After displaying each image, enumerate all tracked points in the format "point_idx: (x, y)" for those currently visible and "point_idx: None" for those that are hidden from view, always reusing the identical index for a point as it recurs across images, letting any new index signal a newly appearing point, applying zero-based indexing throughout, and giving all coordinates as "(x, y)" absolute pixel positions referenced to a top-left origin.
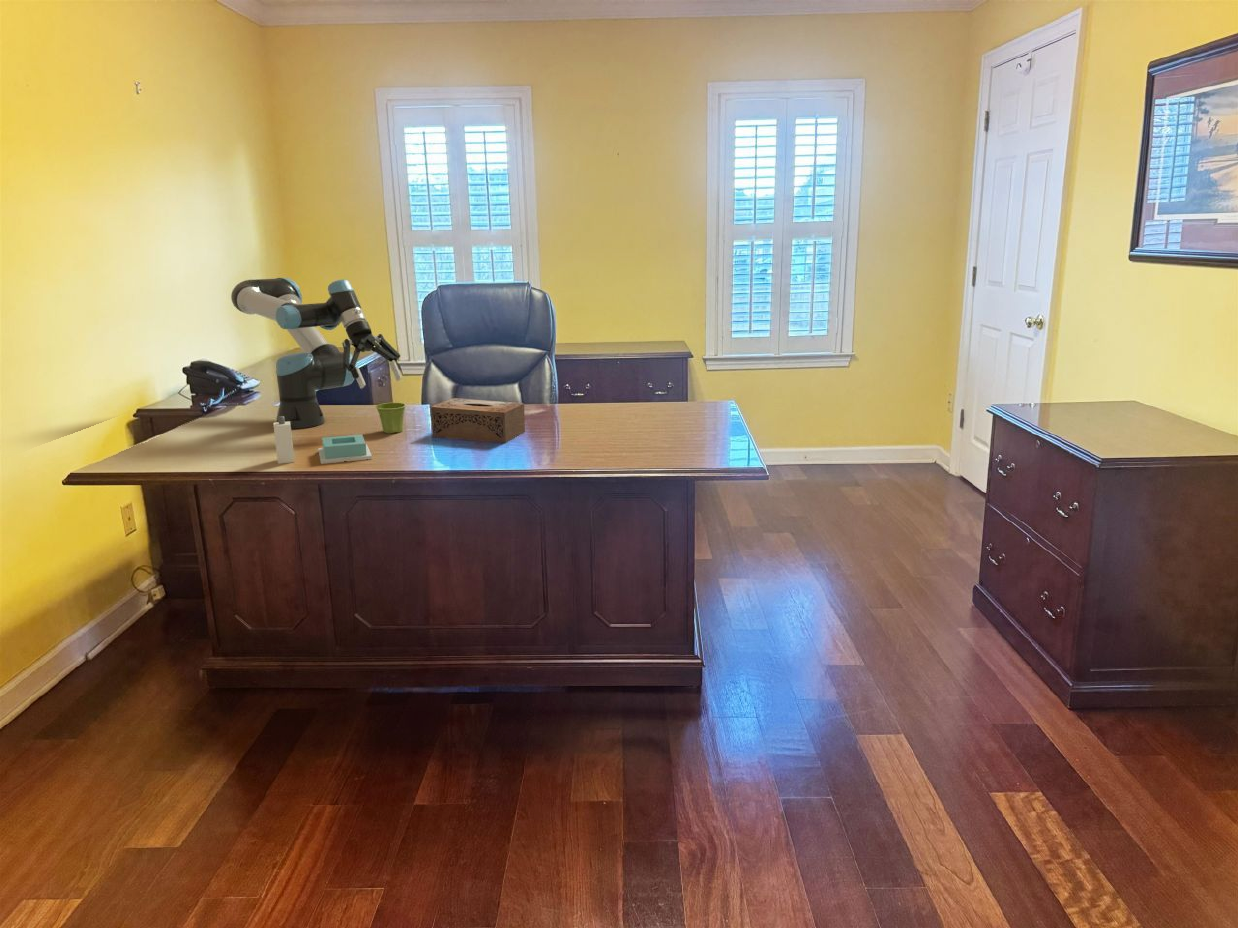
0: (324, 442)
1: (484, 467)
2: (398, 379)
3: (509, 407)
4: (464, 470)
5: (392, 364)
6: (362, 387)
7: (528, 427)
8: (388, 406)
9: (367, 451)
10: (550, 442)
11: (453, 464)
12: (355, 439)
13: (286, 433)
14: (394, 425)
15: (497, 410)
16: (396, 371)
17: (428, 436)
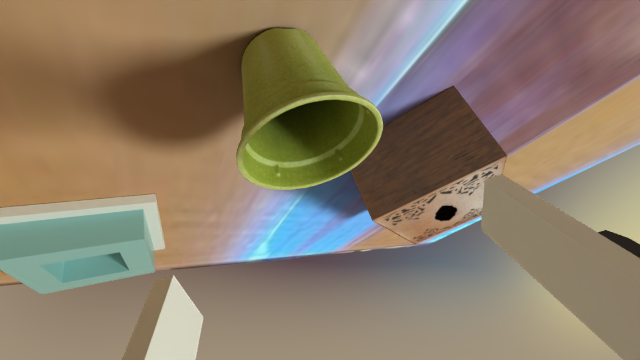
0: (25, 280)
1: (301, 252)
2: (485, 205)
3: (451, 226)
4: (278, 258)
5: (620, 325)
6: (173, 289)
7: (500, 141)
8: (326, 87)
9: (156, 235)
10: None
11: (278, 248)
12: (126, 261)
13: None
14: (281, 120)
15: (421, 237)
16: (530, 262)
17: None
